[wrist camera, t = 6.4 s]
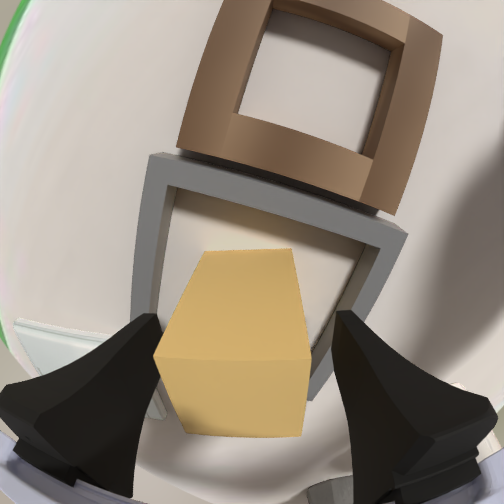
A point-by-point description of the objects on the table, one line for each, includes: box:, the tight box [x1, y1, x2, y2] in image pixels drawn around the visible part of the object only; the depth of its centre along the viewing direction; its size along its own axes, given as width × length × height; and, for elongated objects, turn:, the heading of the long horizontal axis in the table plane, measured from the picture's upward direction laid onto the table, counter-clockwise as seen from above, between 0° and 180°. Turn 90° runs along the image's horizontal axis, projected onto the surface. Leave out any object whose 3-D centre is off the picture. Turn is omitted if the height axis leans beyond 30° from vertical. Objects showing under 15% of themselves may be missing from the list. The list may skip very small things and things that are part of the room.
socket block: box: [176, 0, 443, 216], centre depth 9 cm, size 9×9×2 cm
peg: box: [153, 248, 312, 438], centre depth 10 cm, size 4×4×7 cm
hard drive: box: [13, 318, 167, 420], centre depth 17 cm, size 2×8×12 cm
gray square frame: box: [130, 152, 408, 401], centre depth 13 cm, size 11×11×2 cm
